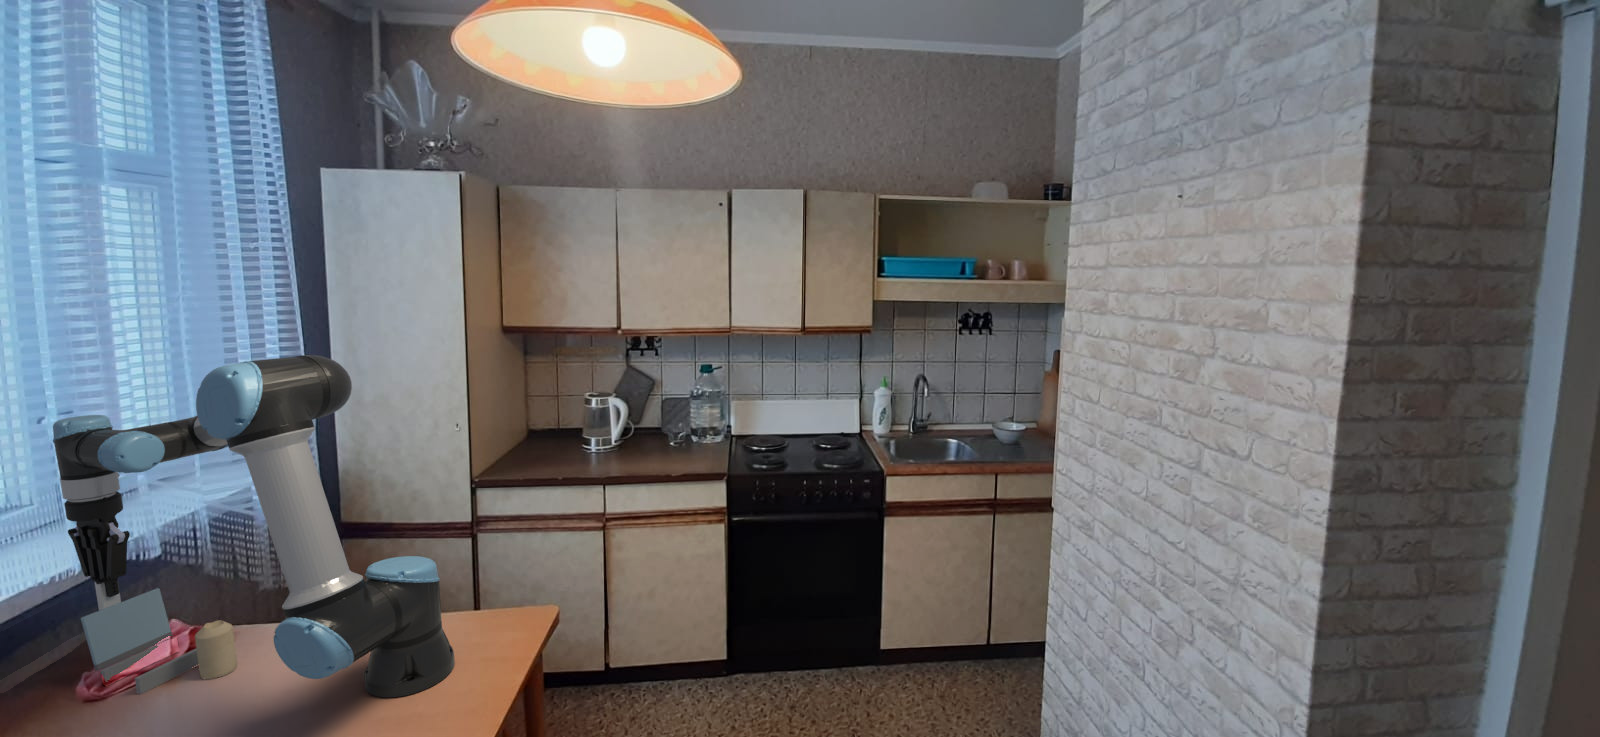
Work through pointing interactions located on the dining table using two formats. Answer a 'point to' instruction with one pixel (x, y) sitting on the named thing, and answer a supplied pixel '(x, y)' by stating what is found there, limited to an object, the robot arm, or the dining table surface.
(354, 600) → the robot arm
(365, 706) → the dining table surface
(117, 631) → the cover
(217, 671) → the candle
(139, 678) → the grey panel stand
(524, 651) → the dining table surface
